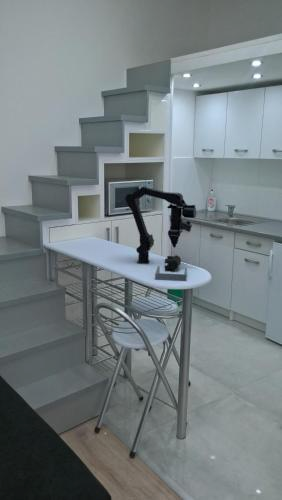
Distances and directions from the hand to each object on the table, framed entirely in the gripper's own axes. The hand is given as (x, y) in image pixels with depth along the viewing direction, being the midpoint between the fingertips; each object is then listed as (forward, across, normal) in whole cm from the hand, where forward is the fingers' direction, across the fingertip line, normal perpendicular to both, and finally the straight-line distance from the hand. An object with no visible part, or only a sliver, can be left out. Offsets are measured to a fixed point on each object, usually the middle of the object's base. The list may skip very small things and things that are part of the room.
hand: (175, 245), depth 231 cm
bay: (+11, -21, -1) cm, 24 cm away
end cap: (+11, -8, 0) cm, 14 cm away
